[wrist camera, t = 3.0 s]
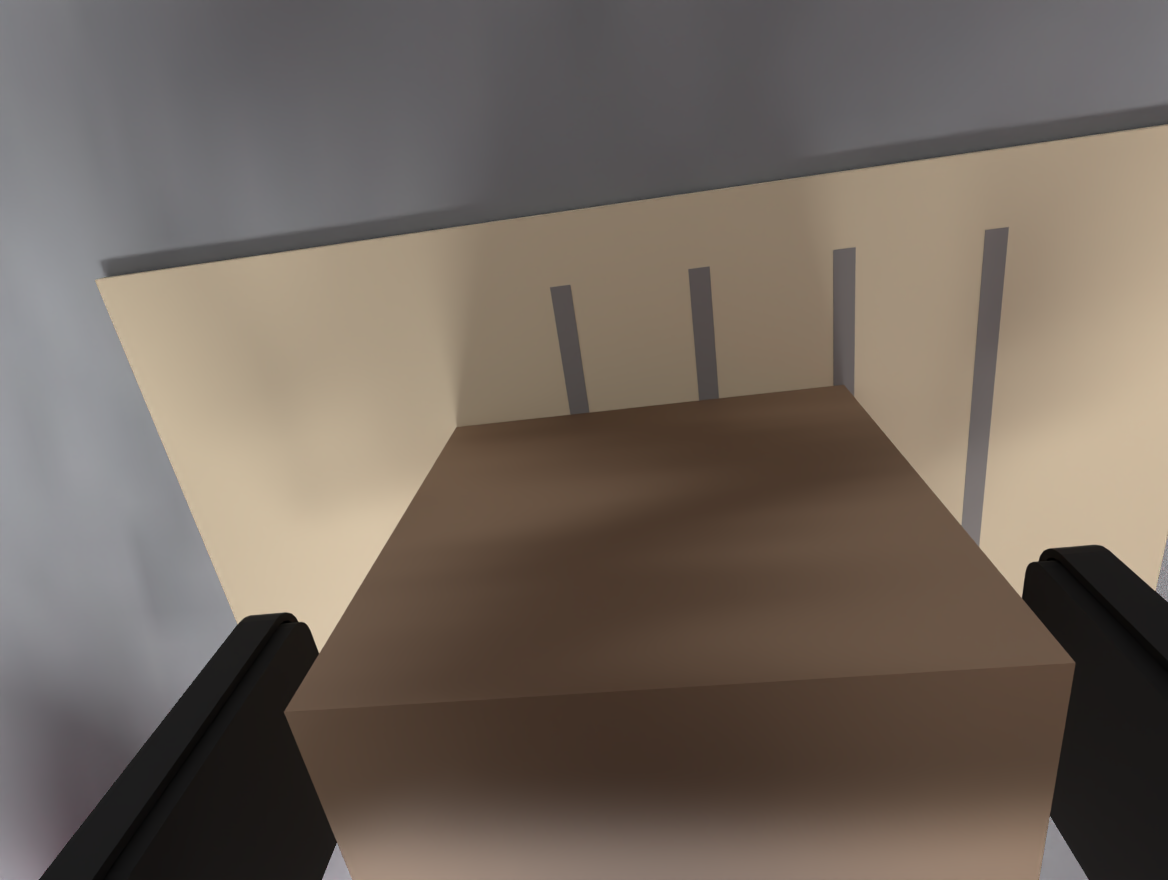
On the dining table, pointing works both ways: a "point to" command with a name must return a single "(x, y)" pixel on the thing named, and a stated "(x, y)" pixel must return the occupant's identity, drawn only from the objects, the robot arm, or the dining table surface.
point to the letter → (686, 350)
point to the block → (685, 662)
